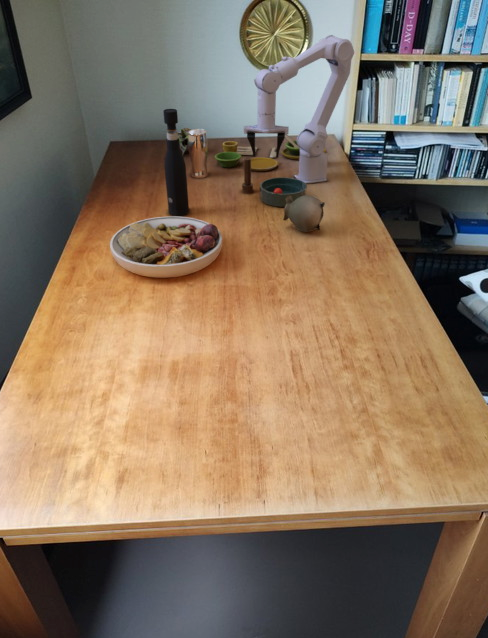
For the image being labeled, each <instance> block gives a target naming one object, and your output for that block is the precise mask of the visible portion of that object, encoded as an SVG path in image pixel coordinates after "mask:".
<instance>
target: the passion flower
mask: <svg viewBox="0 0 488 638" xmlns="http://www.w3.org/2000/svg"><path fill="white" fill-rule="evenodd" d="M189 130H193V129H191V128H188V127H184V128H181V129H180V130H178V131H177V133H178V138H179V144H180V149H181V152H182V155H183V156H184V154H185V152H186V151H187V150H188V131H189Z"/></svg>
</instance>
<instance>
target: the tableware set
mask: <svg viewBox="0 0 488 638" xmlns="http://www.w3.org/2000/svg"><path fill="white" fill-rule="evenodd" d="M284 140H286V141H287V142H286V143H285V144H284V146H285V147H284V148H283V149H282V150H281V154H282V156H283V157H284V158H286V159H289V160H290V159H291V160H296V161H297V160H298V161H299V158H300V147H299V146H298V145H297V140H293V139H292V138H291V137H290V135H289V134H285V138H284ZM221 145H222V150H223V151H222V152H221V151H220V152H217V153H216V154H215V155H214V159H215V160H216V161H217V163H218V165H219V166H220V167H222V168H234V167H236V166H237V165H238V163H239V161H240V160H241V159H242V156H253V152H252V148H251V145H250V146H239V143H238V141H235V140H228V141H227V140H226V141H223V142H222V144H221ZM258 149H259V147H258V146H255V154H256V153H257V150H258ZM276 150H277V146H276V147H275V146H273V147H272V148H271V150H270V155H269V157H264V156H263V157H262V156H261V157H252V158H250V159H251V171H254V172H267V171H272V170H274V169H276V167H277V166H278V165H279V162H278V160H276V159H275V158H277V157H276ZM323 152H324V153H325V154H326V155H327V148H325V149H324V151H323Z"/></svg>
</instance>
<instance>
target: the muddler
mask: <svg viewBox="0 0 488 638" xmlns="http://www.w3.org/2000/svg"><path fill="white" fill-rule="evenodd" d="M243 181H244V182H243V183H242V184H241V192H242V193H243V194H245V195H250V194H253V192H254V183H252V170H251V158H250V157H245V158H244V159H243Z"/></svg>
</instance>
